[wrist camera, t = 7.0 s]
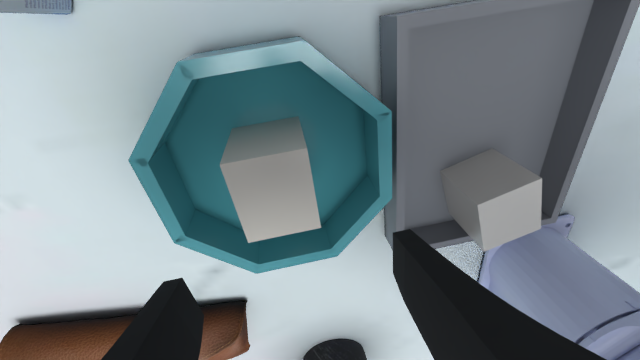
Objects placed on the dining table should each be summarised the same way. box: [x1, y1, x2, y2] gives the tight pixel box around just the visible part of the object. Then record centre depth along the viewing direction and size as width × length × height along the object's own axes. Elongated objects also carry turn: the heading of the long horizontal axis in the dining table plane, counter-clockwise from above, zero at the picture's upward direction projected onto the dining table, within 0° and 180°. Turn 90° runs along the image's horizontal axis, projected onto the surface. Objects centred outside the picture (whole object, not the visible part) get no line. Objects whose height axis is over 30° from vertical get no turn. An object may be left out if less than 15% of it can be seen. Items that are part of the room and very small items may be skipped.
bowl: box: [129, 36, 392, 273], centre depth 17 cm, size 14×14×3 cm
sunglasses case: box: [0, 301, 250, 360], centre depth 25 cm, size 18×7×7 cm
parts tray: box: [380, 0, 640, 250], centre depth 19 cm, size 16×13×2 cm
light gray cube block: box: [440, 149, 542, 252], centre depth 20 cm, size 4×4×4 cm
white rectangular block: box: [220, 116, 321, 243], centre depth 16 cm, size 5×4×5 cm
